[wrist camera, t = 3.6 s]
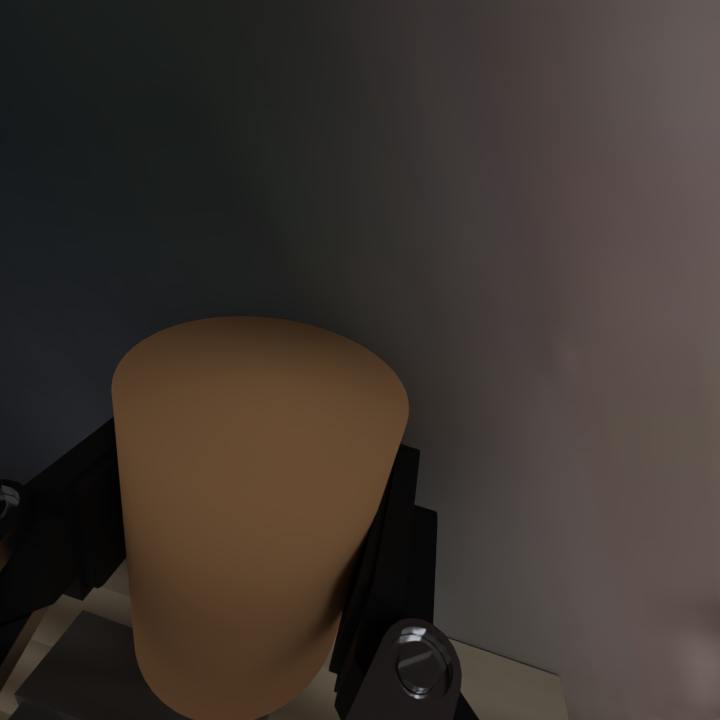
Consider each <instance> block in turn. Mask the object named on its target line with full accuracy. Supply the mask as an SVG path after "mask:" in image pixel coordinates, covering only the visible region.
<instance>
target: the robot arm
mask: <svg viewBox="0 0 720 720" xmlns="http://www.w3.org/2000/svg"><path fill="white" fill-rule="evenodd" d="M419 457H420V450H418V449H415V448H412V447H408V446H405V445H402V444H400V445H399V448H398V451H397V454H396V457H395V460H394V463H393V466H392V469H391V472H390V475H389V478H388V481H387V484H386V487H385V490H384V493H383V496H382V499H381V502H380V505H379V508H378V511H377V513H376V515H375V517H374V520H373V523H372V525H371V528H370V531H369V534H368V537H367V540H366V543H365V546H364V549H363V552H362V555H361V558H360V561H359V564H358V567H357V570H356V573H355V576H354V579H353V582H352V585H351V588H350V591H349V594H348V597H347V600H346V602H345V605H344V608H343V612H342V616H341V620H340V624H339V628H338V632H337V636H336V640H335V645H334V649H333V653H332V657H331V661H330V665H329V671H330V672H332V673H335V674H337V678H336V683H335V687H334V692H336V693H337V695H336V699H335V704H334V707H335V709H336V711H337V713H338V715H339V717H340V720H479V718H478V717H477V715H476V714H475V712H474V711H473V709H472V708H471V706H470V705H469V703H468V702H467V700H466V699H465V697H464V696H463V694H462V693H461V691H460V690H461V681H462V671H461V665H460V660H459V657H458V655H457V653H456V651H455V648H454V646H453V645H452V643H451V642H450V641H449V639H448V638H447V636H446V635H445V634H444V633H443V632H442V631H440V630H439V629H438V628H437V627H436V626H435V625H433V614H434V590H435V566H436V542H437V512H436V511H432V510H429V509H426V508H423V507H420V506H417V505H414V502H415V493H416V484H417V475H418V466H419ZM125 558H126V546H125V535H124V524H123V512H122V501H121V490H120V479H119V468H118V457H117V445H116V434H115V423H114V417H113V418H112V419H110V420H109V421H108V422H106V423H105V424H104V425H103V426H101V427H100V428H99V429H97V430H96V431H95V432H93V433H92V434H91V435H90V436H88V437H87V438H86V439H84V440H83V441H82V442H80V443H79V444H78V445H76V446H75V447H74V448H73V449H71V450H70V451H69V452H67V453H66V454H65V455H63V456H62V457H61V458H59V459H58V460H57V461H56V462H54V463H53V464H52V465H50V466H49V467H48V468H46V469H45V470H44V471H42V472H41V473H40V474H39V475H37V476H36V477H35V478H33V479H32V480H31V481H29V482H28V483H27V484H25V485H22V484H20V483H19V482H16V481H11V480H7V479H2V480H0V692H1V690H2V689H3V687H4V685H5V683H6V682H7V680H8V678H9V676H10V675H11V673H12V671H13V669H14V668H15V666H16V664H17V662H18V661H19V659H20V657H21V655H22V654H23V652H24V650H25V648H26V647H27V645H28V643H29V641H30V639H31V638H32V636H33V634H34V632H35V631H36V629H37V627H38V625H39V624H40V622H41V620H42V618H43V617H44V615H45V613H46V611H47V610H48V607H49V606H50V605H53V604H54V603H55V602H56V601H57V600H58V599H59V598H60V597H61V596H62V594H64V595H67V596H69V597H72V598H75V599H78V600H80V601H83V600H84V599H85V598H86V596H87V595H88V594H89V593H90V592H91V590H92V589H93V588H97V589H98V588H100V587H102V586H103V585H104V584H105V583H106V582H107V581H108V579H109V578H110V577H111V576H112V574H113V573H114V572H115V571H116V570H117V568H118V567H119V566H120V565H121V563H122V562H123V561H124V560H125Z"/></svg>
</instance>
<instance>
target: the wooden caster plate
mask: <svg viewBox="0 0 720 720" xmlns="http://www.w3.org/2000/svg"><path fill="white" fill-rule="evenodd" d="M338 628H339V627H338ZM337 632H338V630H337ZM336 636H337V633H336ZM336 636H335V639H334V642H333V645H332V648H331V650H330V652H329V654H328V657H327V659H326V661H325V662H324V664H323V666H322V667H321V669H320V671H319V672H318V674H317V675H316V676H315V677H314V679H313V680H312V681H311V683H310V684H309V685H308V686H307V687H306V688H305V689H304V690H303V691H302V692H301V693H300V694H299V695H298V696H296V697H295V698H294V699H292V700H291V701H290V702H288V703H287V704H286V705H284V706H283V707H281V708H279V709H277V710H275V711H274V712H272V713H270V714H267V715H265V716H262V717H260V718H257V719H254V720H340V717H339V715H338V713H337V711H336V709H335V707H334V704H335V699H336V695H337V693H336V692H334V687H335V683H336V678H337V674H335V673H332V672H330V671H329V665H330V661H331V657H332V653H333V649H334V645H335V640H336ZM448 639H449V638H448ZM449 641H450V642H451V643H452V645H453V646H454V648H455V651H456V653H457V655H458V657H459V660H460V665H461V671H462V681H461V690H460V691H461V693H462V694H463V696H464V697H465V699H466V700H467V702H468V703H469V705H470V706H471V708H472V709H473V711H474V712H475V714H476V715H477V717H478V718H479V720H568V715H567V710H566V705H565V700H564V696H563V691H562V686H561V681H560V676H557V675H554V674H551V673H548V672H545V671H542V670H539V669H536V668H533V667H530V666H527V665H524V664H522V663H519V662H516V661H513V660H510V659H507V658H504V657H501V656H498V655H495V654H492V653H489V652H487V651H484V650H481V649H478V648H475V647H472V646H469V645H466V644H463V643H460V642H457V641H454V640H451V639H449ZM0 720H193V719H190V718H188V717H186V716H184V715H181V714H179V713H177V712H175V711H174V710H173V709H171V708H170V707H168V706H167V705H165V704H164V703H163V702H162V701H161V700H160V699H159V698H158V697H157V696H156V695H155V694H154V693H153V691H152V690H151V688H150V687H149V686H148V684H147V683H146V681H145V679H144V677H143V675H142V673H141V670H140V668H139V665H138V661H137V658H136V654H135V646H134V636H133V624H132V613H131V602H130V591H129V580H128V568H127V557H126V558H125V560H124V561H123V562H122V563H121V565H120V566H119V567H118V568H117V570H116V571H115V572H114V573H113V574H112V576H111V577H110V578H109V579H108V581H107V582H106V583H105V584H104V585H103V586H102V587H100V588H98V589H97V588H93V589H92V590H91V592H90V593H89V594H88V595H87V596H86V598H85V599H84V600H83V601H80V600H78V599H75V598H72V597H69V596H67V595H64V594H62V596H61V597H60V598H59V599H58V600H57V601H56V602H55V603H54V604H53V605H50V606H49V607H48V610H47V611H46V613H45V615H44V617H43V618H42V620H41V622H40V624H39V625H38V627H37V629H36V631H35V632H34V634H33V636H32V638H31V639H30V641H29V643H28V645H27V647H26V648H25V650H24V652H23V654H22V655H21V657H20V659H19V661H18V662H17V664H16V666H15V668H14V669H13V671H12V673H11V675H10V676H9V678H8V680H7V682H6V683H5V685H4V687H3V689H2V690H1V692H0Z"/></svg>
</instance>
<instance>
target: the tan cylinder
mask: <svg viewBox="0 0 720 720" xmlns="http://www.w3.org/2000/svg"><path fill="white" fill-rule="evenodd" d="M111 389H112V401H113V412H114V423H115V434H116V445H117V457H118V468H119V479H120V490H121V501H122V512H123V524H124V535H125V546H126V557H127V568H128V580H129V591H130V602H131V613H132V624H133V636H134V646H135V654H136V658H137V661H138V665H139V668H140V670H141V673H142V675H143V677H144V679H145V681H146V683H147V684H148V686H149V687H150V688H151V690H152V691H153V693H154V694H155V695H156V696H157V697H158V698H159V699H160V700H161V701H162V702H163V703H164V704H165V705H167V706H168V707H170V708H171V709H173V710H174V711H175V712H177V713H179V714H181V715H184V716H186V717H188V718H190V719H193V720H254V719H257V718H260V717H262V716H265V715H267V714H270V713H272V712H274V711H275V710H277V709H279V708H281V707H283V706H284V705H286V704H287V703H288V702H290V701H291V700H292V699H294V698H295V697H296V696H298V695H299V694H300V693H301V692H302V691H303V690H304V689H305V688H306V687H307V686H308V685H309V684H310V683H311V681H312V680H313V679H314V677H315V676H316V675H317V674H318V672H319V671H320V669H321V667H322V666H323V664H324V662H325V661H326V659H327V657H328V654H329V652H330V650H331V648H332V645H333V642H334V639H335V636H336V633H337V630H338V627H339V624H340V620H341V616H342V612H343V608H344V605H345V602H346V600H347V597H348V594H349V591H350V588H351V585H352V582H353V579H354V576H355V573H356V570H357V567H358V564H359V561H360V558H361V555H362V552H363V549H364V546H365V543H366V540H367V537H368V534H369V531H370V528H371V525H372V523H373V520H374V517H375V515H376V513H377V511H378V508H379V505H380V502H381V499H382V496H383V493H384V490H385V487H386V484H387V481H388V478H389V475H390V472H391V469H392V466H393V463H394V460H395V457H396V454H397V451H398V448H399V445H400V442H401V439H402V436H403V433H404V430H405V427H406V424H407V420H408V416H409V402H408V397H407V394H406V391H405V389H404V386H403V384H402V383H401V381H400V379H399V378H398V376H397V375H396V374H395V373H394V371H393V370H392V369H391V368H390V367H389V366H388V365H387V364H386V363H385V362H384V361H383V360H382V359H380V358H379V357H378V356H377V355H375V354H374V353H373V352H371V351H370V350H368V349H366V348H365V347H363V346H362V345H360V344H358V343H356V342H354V341H352V340H350V339H348V338H346V337H344V336H342V335H339V334H337V333H334V332H331V331H329V330H326V329H323V328H320V327H316V326H313V325H309V324H305V323H301V322H296V321H291V320H286V319H278V318H271V317H259V316H226V317H214V318H207V319H200V320H195V321H191V322H186V323H182V324H179V325H176V326H172V327H169V328H167V329H164V330H162V331H159V332H157V333H155V334H153V335H151V336H149V337H148V338H146V339H144V340H143V341H141V342H140V343H138V344H137V345H135V346H134V347H133V348H132V349H131V350H130V351H129V352H128V353H127V354H126V355H125V356H124V357H123V359H122V360H121V361H120V363H119V364H118V366H117V368H116V370H115V373H114V375H113V380H112V387H111Z"/></svg>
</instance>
